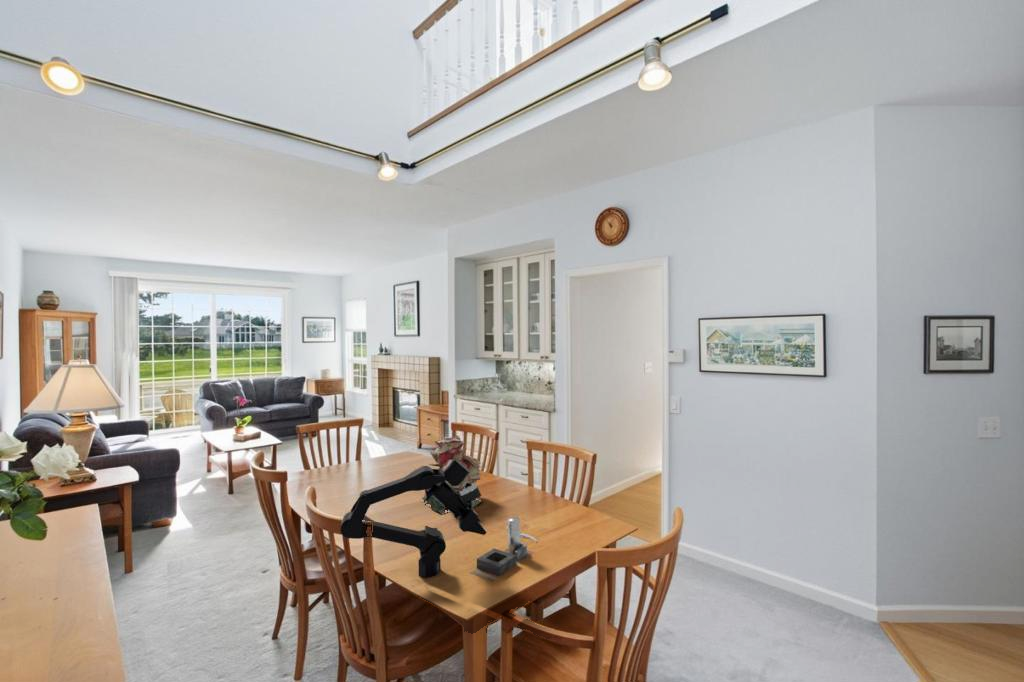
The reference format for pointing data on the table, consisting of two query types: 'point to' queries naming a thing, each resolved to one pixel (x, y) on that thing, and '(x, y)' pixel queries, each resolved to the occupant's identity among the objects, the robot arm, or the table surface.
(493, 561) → the block with square hole
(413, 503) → the table surface
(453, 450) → the rose bouquet
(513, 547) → the axle
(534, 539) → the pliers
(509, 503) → the table surface
